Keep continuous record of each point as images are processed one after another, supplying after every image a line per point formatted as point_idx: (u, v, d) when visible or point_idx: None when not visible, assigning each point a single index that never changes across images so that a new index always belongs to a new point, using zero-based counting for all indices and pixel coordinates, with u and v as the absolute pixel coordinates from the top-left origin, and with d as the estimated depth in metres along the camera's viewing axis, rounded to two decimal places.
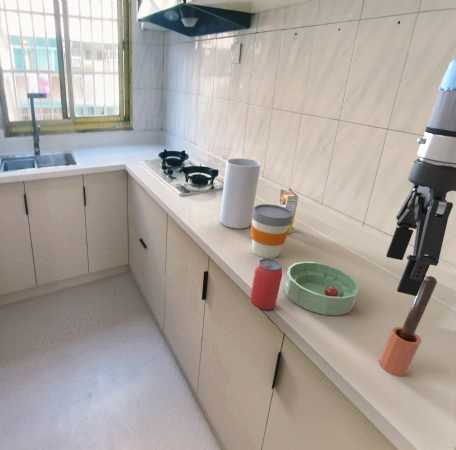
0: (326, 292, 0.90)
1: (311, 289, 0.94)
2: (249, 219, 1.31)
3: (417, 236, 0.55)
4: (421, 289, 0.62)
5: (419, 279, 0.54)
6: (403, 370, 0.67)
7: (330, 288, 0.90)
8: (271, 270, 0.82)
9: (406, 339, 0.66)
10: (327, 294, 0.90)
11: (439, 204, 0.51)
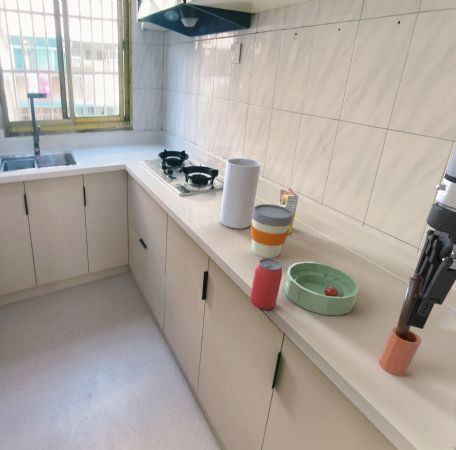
0: (326, 292, 0.90)
1: (311, 289, 0.94)
2: (249, 219, 1.31)
3: (427, 278, 0.59)
4: (409, 288, 0.63)
5: (425, 315, 0.61)
6: (403, 370, 0.67)
7: (330, 288, 0.90)
8: (271, 270, 0.82)
9: (401, 338, 0.66)
10: (327, 294, 0.90)
11: (453, 263, 0.53)
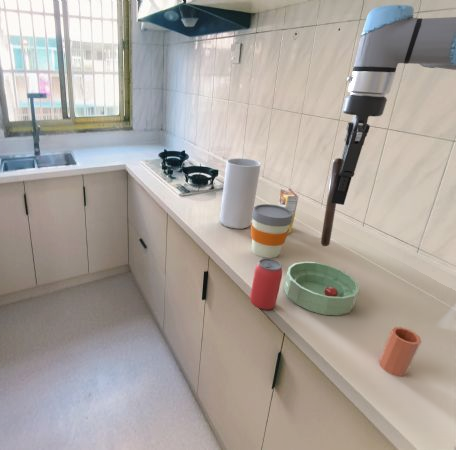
0: (326, 292, 0.90)
1: (311, 289, 0.94)
2: (249, 219, 1.31)
3: (344, 158, 0.74)
4: (332, 170, 0.77)
5: (344, 190, 0.75)
6: (403, 370, 0.67)
7: (330, 288, 0.90)
8: (271, 270, 0.82)
9: (329, 216, 0.80)
10: (327, 294, 0.90)
11: (357, 135, 0.68)
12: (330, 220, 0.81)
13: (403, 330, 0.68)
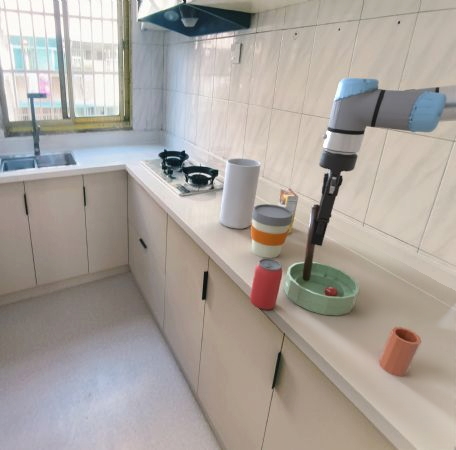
0: (326, 292, 0.90)
1: (311, 289, 0.94)
2: (249, 219, 1.31)
3: (320, 205, 0.81)
4: (311, 215, 0.85)
5: (321, 233, 0.83)
6: (403, 370, 0.67)
7: (330, 288, 0.90)
8: (271, 270, 0.82)
9: (309, 255, 0.88)
10: (327, 294, 0.90)
11: (330, 189, 0.75)
12: (310, 258, 0.88)
13: (403, 330, 0.68)
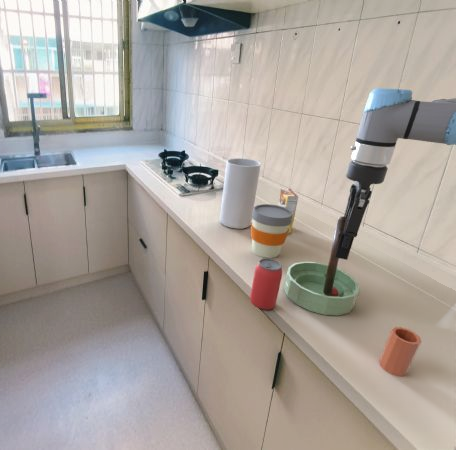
0: None
1: (311, 289, 0.94)
2: (249, 219, 1.31)
3: (347, 218, 0.79)
4: (337, 227, 0.82)
5: (347, 247, 0.81)
6: (403, 370, 0.67)
7: None
8: (271, 270, 0.82)
9: (332, 269, 0.86)
10: None
11: (360, 202, 0.73)
12: (333, 272, 0.86)
13: (403, 330, 0.68)
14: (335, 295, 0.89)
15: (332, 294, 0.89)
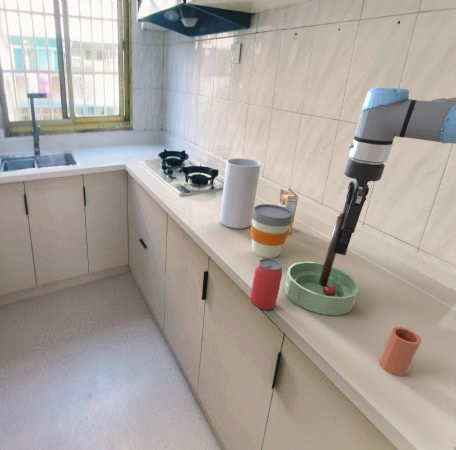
0: (323, 288, 0.91)
1: (311, 289, 0.94)
2: (249, 219, 1.31)
3: (345, 215, 0.81)
4: (336, 223, 0.84)
5: (345, 243, 0.83)
6: (403, 370, 0.67)
7: (328, 285, 0.91)
8: (271, 270, 0.82)
9: (329, 262, 0.88)
10: (324, 290, 0.91)
11: (357, 199, 0.75)
12: (329, 265, 0.89)
13: (403, 330, 0.68)
14: (330, 292, 0.90)
15: (327, 291, 0.90)
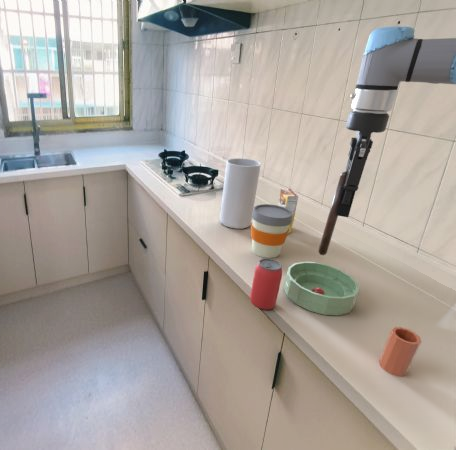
0: None
1: (311, 289, 0.94)
2: (249, 219, 1.31)
3: (348, 172, 0.76)
4: (338, 183, 0.79)
5: (348, 203, 0.77)
6: (403, 370, 0.67)
7: None
8: (271, 270, 0.82)
9: (329, 227, 0.83)
10: None
11: (360, 151, 0.69)
12: (330, 230, 0.83)
13: (403, 330, 0.68)
14: None
15: None
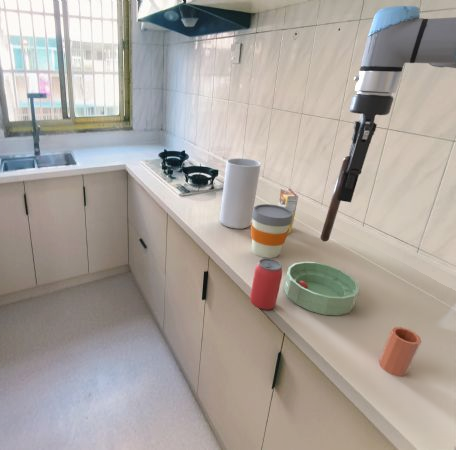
0: (298, 283, 0.92)
1: (311, 289, 0.94)
2: (249, 219, 1.31)
3: (351, 156, 0.75)
4: (341, 167, 0.78)
5: (351, 187, 0.77)
6: (403, 370, 0.67)
7: None
8: (271, 270, 0.82)
9: (332, 212, 0.82)
10: (298, 282, 0.92)
11: (364, 133, 0.69)
12: (332, 216, 0.82)
13: (403, 330, 0.68)
14: None
15: None
